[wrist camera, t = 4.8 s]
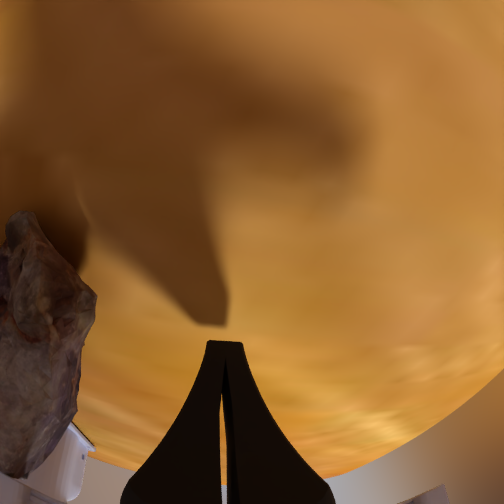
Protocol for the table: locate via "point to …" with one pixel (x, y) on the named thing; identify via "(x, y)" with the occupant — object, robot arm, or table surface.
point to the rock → (38, 345)
